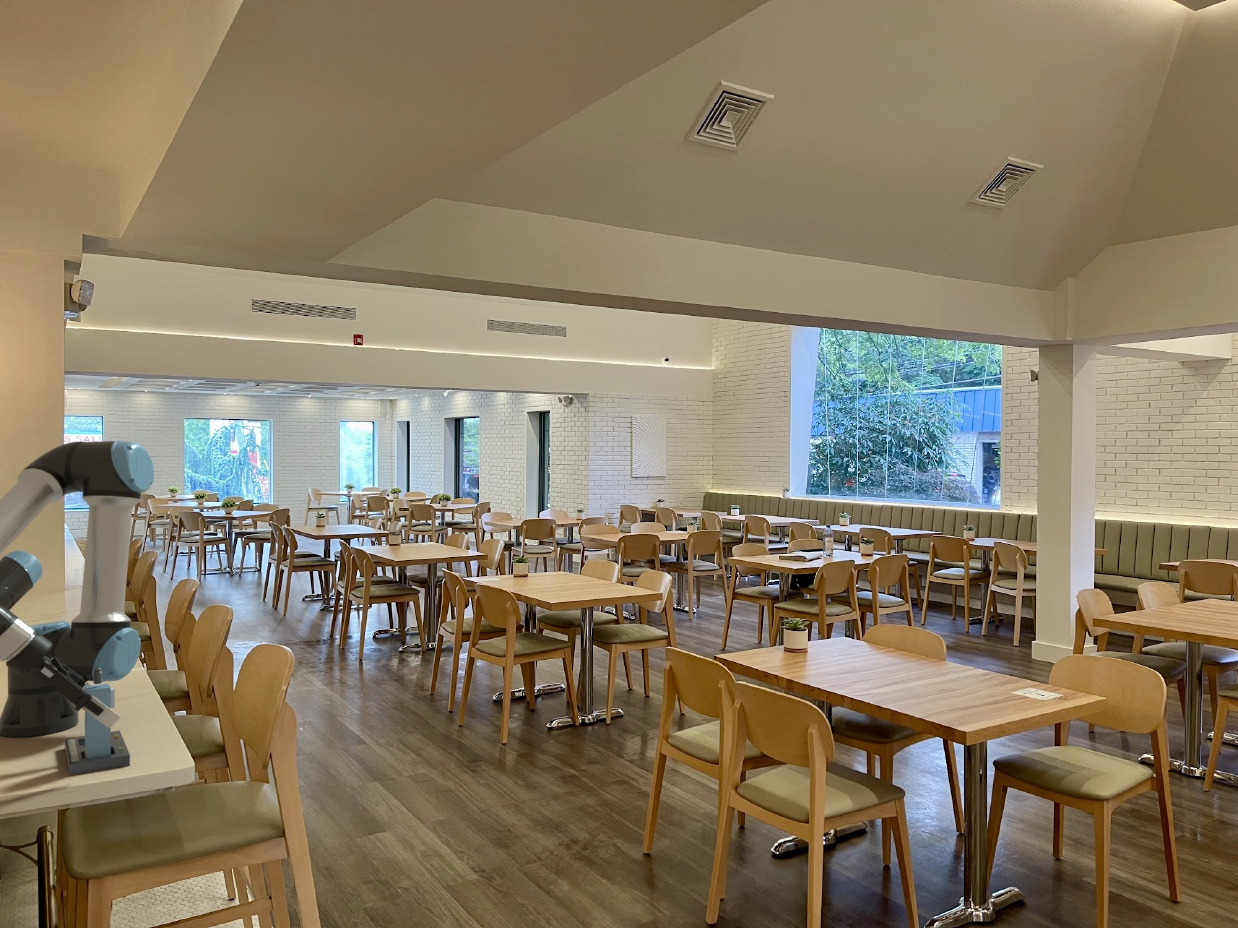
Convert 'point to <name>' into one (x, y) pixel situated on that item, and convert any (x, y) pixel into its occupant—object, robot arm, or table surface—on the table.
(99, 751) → the plug
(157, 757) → the table surface
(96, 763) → the port panel
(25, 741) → the table surface
